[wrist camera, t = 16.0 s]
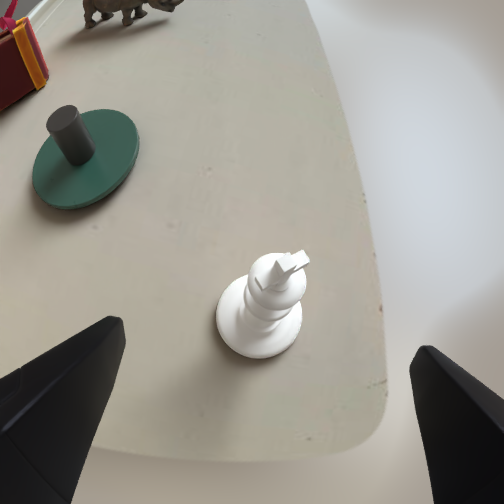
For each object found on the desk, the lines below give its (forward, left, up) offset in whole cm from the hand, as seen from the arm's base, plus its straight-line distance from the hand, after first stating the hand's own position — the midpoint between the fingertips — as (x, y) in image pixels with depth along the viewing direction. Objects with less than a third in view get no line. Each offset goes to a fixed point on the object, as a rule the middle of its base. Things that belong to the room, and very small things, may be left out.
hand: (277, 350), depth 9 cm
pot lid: (-6, +18, -9) cm, 21 cm away
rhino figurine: (+2, +39, -10) cm, 40 cm away
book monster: (-13, +36, -10) cm, 39 cm away
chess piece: (+1, +2, -10) cm, 10 cm away
